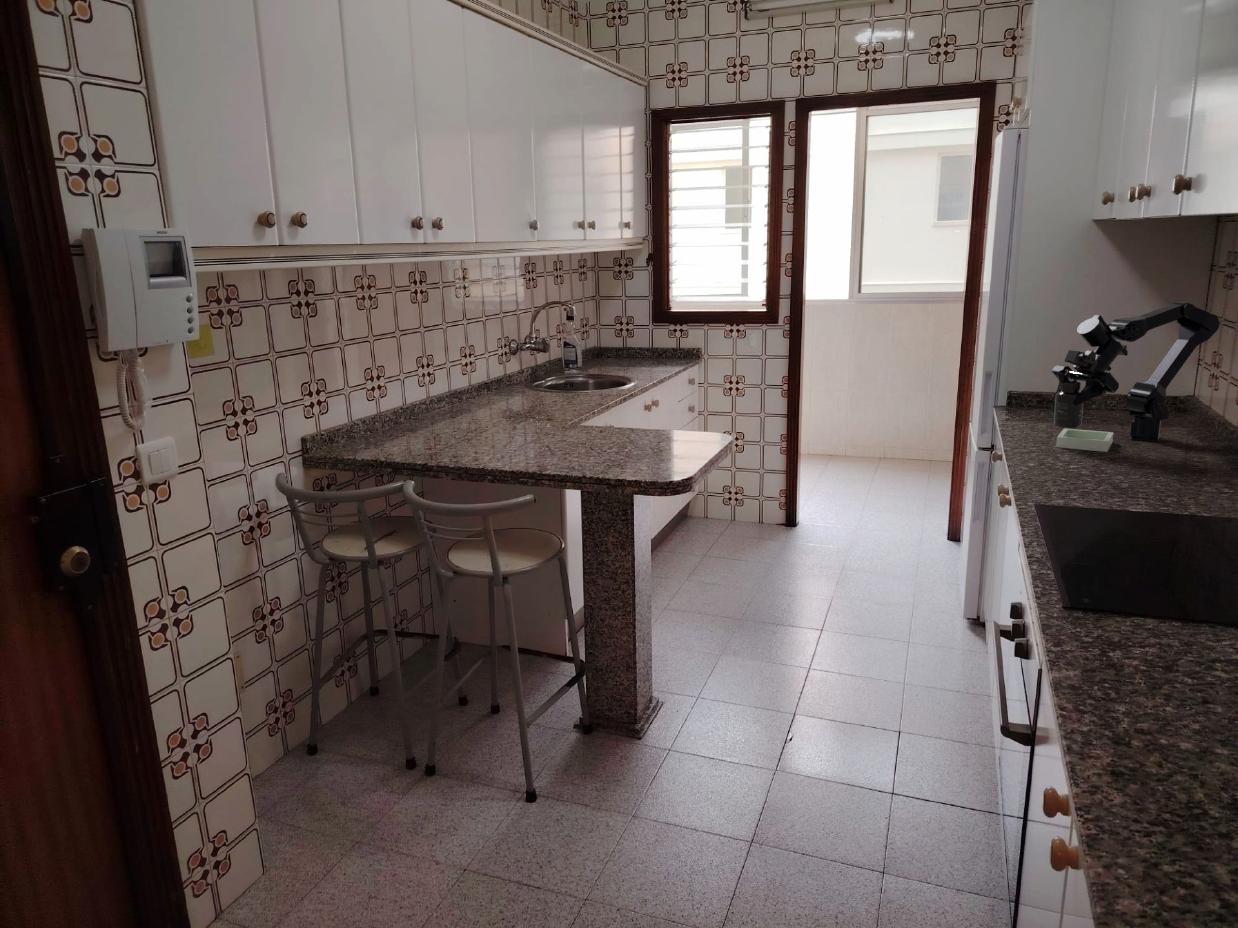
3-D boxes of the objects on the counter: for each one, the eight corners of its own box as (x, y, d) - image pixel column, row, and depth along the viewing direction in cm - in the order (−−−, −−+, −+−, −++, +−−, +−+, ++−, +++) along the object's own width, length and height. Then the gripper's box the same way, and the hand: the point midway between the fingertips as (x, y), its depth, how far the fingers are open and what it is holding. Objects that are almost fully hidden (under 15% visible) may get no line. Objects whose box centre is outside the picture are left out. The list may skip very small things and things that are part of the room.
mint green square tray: (1112, 442, 237) (1113, 432, 236) (1107, 451, 227) (1108, 441, 227) (1063, 438, 244) (1063, 428, 243) (1056, 447, 234) (1057, 436, 234)
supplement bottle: (1086, 427, 229) (1090, 383, 226) (1060, 429, 229) (1064, 385, 226) (1073, 422, 235) (1077, 379, 232) (1048, 423, 236) (1051, 381, 233)
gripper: (1059, 335, 236) (1023, 379, 236) (1113, 342, 219) (1075, 389, 219) (1080, 361, 240) (1045, 403, 240) (1135, 369, 222) (1097, 415, 223)
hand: (1064, 402), depth 230 cm, fingers closed on supplement bottle, 7 cm apart
